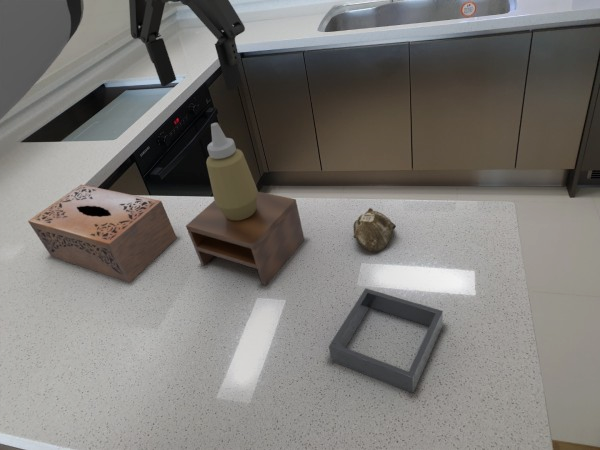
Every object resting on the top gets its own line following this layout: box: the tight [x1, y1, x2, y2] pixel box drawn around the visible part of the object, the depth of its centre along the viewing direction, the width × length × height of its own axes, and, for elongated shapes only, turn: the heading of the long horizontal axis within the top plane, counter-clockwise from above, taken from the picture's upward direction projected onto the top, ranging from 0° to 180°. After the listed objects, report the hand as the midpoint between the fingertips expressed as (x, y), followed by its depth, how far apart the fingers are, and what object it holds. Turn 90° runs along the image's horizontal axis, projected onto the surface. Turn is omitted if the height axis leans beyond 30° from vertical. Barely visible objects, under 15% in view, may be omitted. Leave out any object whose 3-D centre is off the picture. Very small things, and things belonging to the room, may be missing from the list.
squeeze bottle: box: [205, 122, 259, 221], centre depth 81 cm, size 8×8×18 cm
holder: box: [328, 287, 444, 394], centre depth 68 cm, size 13×13×4 cm
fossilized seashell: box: [352, 207, 397, 252], centre depth 88 cm, size 8×7×10 cm
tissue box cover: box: [27, 184, 178, 283], centre depth 99 cm, size 26×14×10 cm, turn 61°
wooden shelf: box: [185, 191, 305, 287], centre depth 89 cm, size 14×16×10 cm
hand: (200, 84), depth 70 cm, fingers open, 13 cm apart
